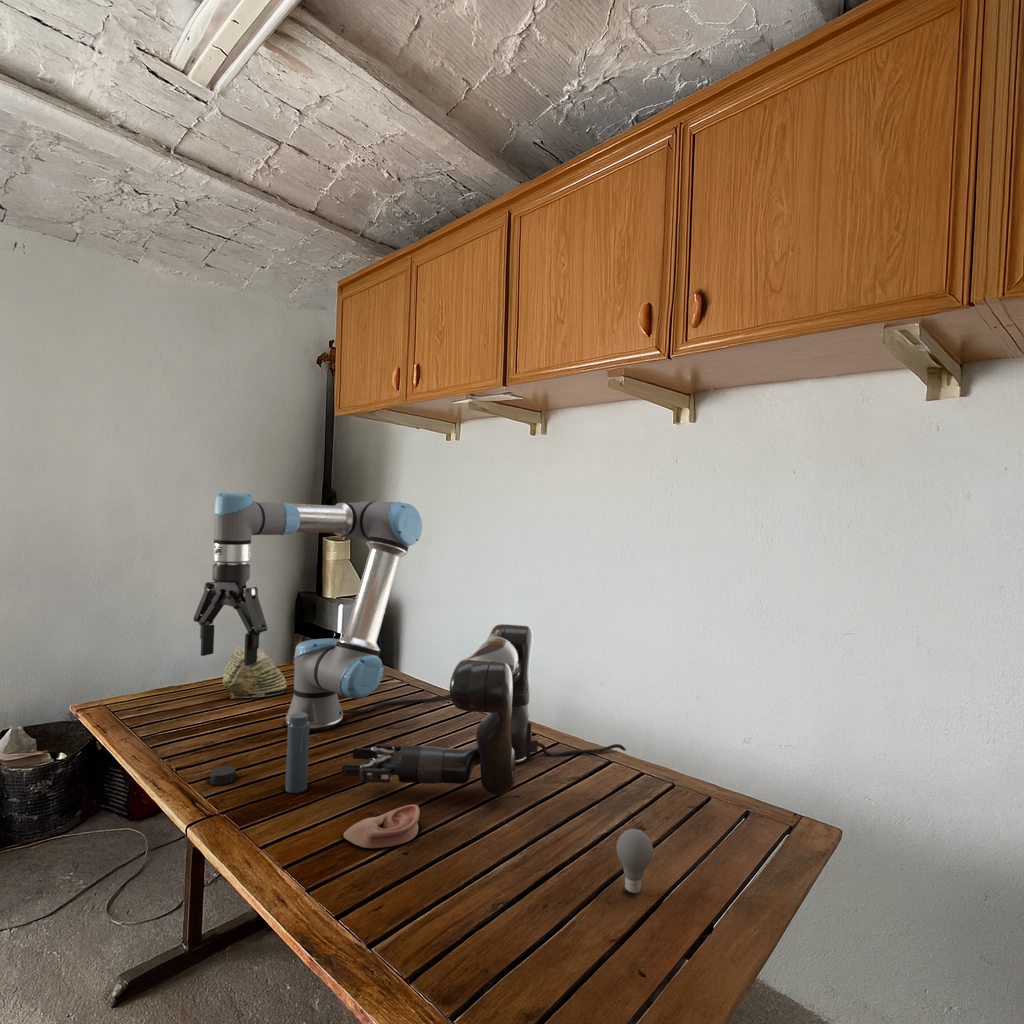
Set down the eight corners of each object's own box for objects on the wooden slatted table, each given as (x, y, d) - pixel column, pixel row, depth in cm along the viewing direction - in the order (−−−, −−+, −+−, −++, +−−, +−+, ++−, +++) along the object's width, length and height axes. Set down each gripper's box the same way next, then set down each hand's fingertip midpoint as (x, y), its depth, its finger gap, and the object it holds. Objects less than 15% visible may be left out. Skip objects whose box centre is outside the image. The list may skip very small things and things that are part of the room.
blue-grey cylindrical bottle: (304, 792, 135) (307, 718, 135) (282, 793, 135) (285, 718, 134) (309, 783, 140) (312, 711, 139) (287, 783, 139) (290, 711, 139)
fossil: (218, 695, 195) (220, 647, 195) (278, 685, 208) (279, 640, 207) (228, 703, 189) (230, 653, 188) (289, 692, 201) (290, 645, 201)
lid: (211, 775, 141) (212, 766, 141) (236, 774, 143) (237, 764, 143) (207, 786, 136) (208, 776, 136) (233, 784, 138) (234, 774, 138)
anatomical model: (336, 822, 116) (363, 794, 127) (335, 843, 116) (362, 813, 127) (404, 832, 113) (426, 803, 124) (403, 854, 113) (425, 823, 124)
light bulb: (610, 879, 108) (613, 822, 108) (644, 879, 109) (647, 822, 109) (619, 902, 102) (622, 840, 102) (655, 901, 103) (658, 840, 103)
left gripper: (178, 559, 141) (174, 654, 141) (259, 569, 130) (255, 671, 130) (207, 557, 148) (204, 647, 148) (286, 566, 137) (283, 664, 137)
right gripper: (427, 735, 144) (356, 731, 144) (418, 761, 130) (339, 757, 130) (426, 767, 144) (355, 764, 144) (416, 797, 130) (338, 793, 130)
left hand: (228, 659), depth 139 cm, fingers open, 13 cm apart
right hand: (348, 761), depth 137 cm, fingers open, 8 cm apart
